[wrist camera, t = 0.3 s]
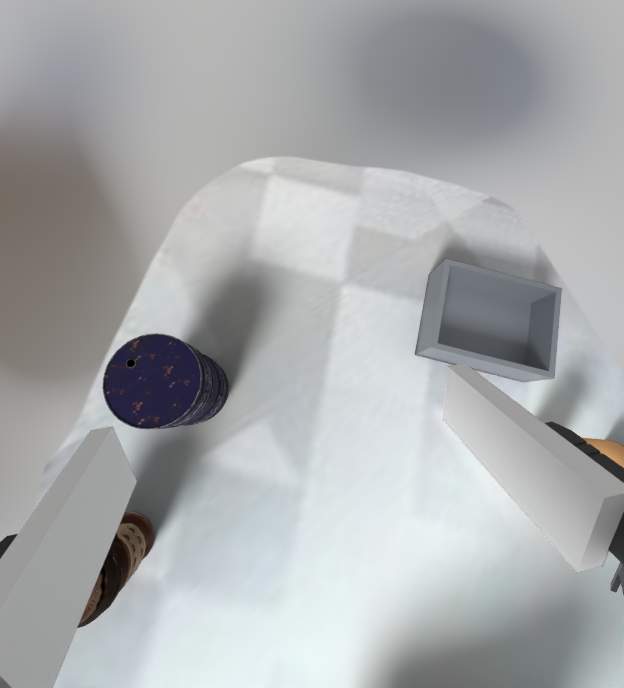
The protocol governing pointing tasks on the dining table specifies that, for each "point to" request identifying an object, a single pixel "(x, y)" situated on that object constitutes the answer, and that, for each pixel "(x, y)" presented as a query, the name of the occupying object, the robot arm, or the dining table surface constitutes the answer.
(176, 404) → the storage jar
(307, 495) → the dining table surface
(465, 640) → the dining table surface
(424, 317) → the tote
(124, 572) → the coffee cup
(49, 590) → the robot arm
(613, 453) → the tan dome-topped cylinder
